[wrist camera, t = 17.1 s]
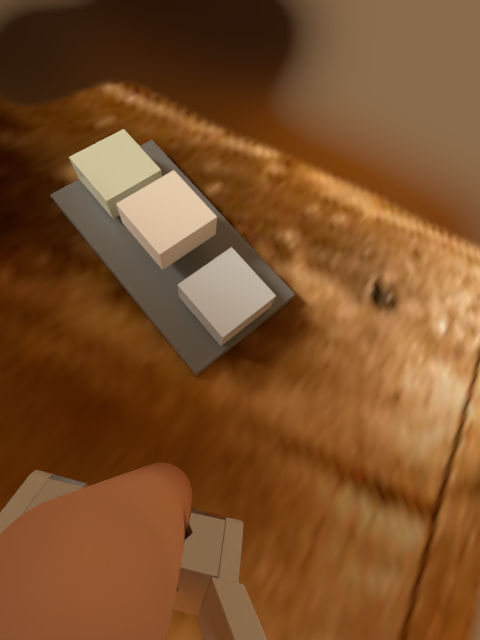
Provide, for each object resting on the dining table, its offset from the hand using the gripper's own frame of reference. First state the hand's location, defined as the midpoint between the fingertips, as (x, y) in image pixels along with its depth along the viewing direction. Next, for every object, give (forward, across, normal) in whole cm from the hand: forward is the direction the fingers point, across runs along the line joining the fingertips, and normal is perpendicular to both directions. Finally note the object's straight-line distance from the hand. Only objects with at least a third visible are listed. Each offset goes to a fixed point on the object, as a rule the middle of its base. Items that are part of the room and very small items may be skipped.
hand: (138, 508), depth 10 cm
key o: (+21, +9, -5) cm, 23 cm away
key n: (+16, 0, 0) cm, 16 cm away
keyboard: (+20, +4, -2) cm, 20 cm away
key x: (+17, +4, -4) cm, 18 cm away
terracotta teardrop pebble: (+4, 0, +5) cm, 7 cm away
